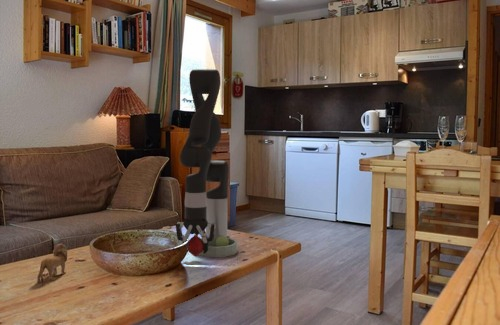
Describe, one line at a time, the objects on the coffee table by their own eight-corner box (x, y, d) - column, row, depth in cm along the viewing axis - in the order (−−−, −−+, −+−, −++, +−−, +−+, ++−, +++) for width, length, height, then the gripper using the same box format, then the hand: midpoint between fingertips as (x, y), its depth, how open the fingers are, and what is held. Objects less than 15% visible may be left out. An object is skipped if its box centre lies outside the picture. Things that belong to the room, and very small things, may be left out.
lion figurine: (54, 269, 141) (54, 242, 140) (71, 269, 141) (70, 242, 140) (33, 285, 126) (32, 254, 125) (51, 285, 126) (51, 255, 126)
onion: (195, 260, 147) (195, 236, 146) (183, 256, 150) (183, 234, 149) (207, 256, 151) (207, 233, 151) (195, 253, 155) (195, 231, 154)
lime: (216, 247, 168) (217, 234, 168) (229, 247, 168) (229, 235, 168) (214, 250, 163) (214, 237, 163) (227, 251, 163) (228, 238, 163)
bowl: (199, 246, 172) (199, 236, 171) (239, 248, 170) (239, 237, 170) (189, 258, 156) (190, 246, 155) (234, 260, 154) (234, 248, 154)
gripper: (218, 203, 152) (217, 250, 154) (178, 202, 154) (178, 248, 155) (214, 207, 145) (214, 256, 146) (172, 206, 146) (172, 254, 148)
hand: (195, 252), depth 151 cm, fingers closed on onion, 6 cm apart
